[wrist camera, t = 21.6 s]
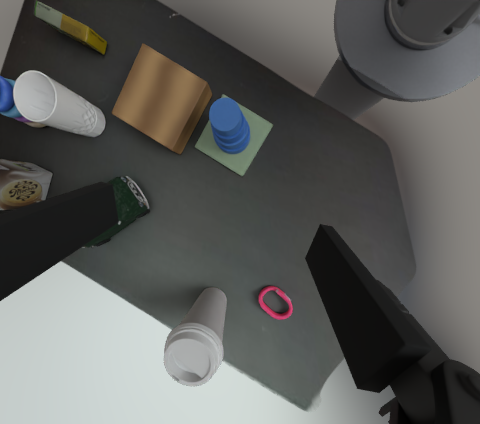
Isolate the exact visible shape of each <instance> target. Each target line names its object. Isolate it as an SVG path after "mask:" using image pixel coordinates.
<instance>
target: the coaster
mask: <svg viewBox="0 0 480 424" xmlns="http://www.w3.org/2000/svg"><path fill="white" fill-rule="evenodd" d="M221 98H229V97H227V96H225V95H224V94H223V95H222V97H221ZM236 103H237V102H236ZM237 104H238V103H237ZM238 106H239V108H240V110H241V111H242V113H243V115H244V117H245V118H246V120H247V122H248V124H249V127H250V141H249V144H248V146H247V147H246V148H245V149H244V150H243V151H242V152H240V153H238V154H227V153H225V152H223V151H222V150H221V149H220V148H219V147H218V145H217V144H216V142H215V140H214V137H213V132H212V128H211V122H210V119H209V121H208V123H207V125H206V127H205V129H204V130H203V132H202V134H201V136H200V138H199V140H198V142H197V143H196V145H195V148H197V149H198V150H200V151H202V152H203V153H205V154H207V155H208V156H210V157H211V158H213V159H215V160H216V161H218V162H220V163H221V164H223V165H224V166H226V167H228V168H229V169H231V170H233V171H234V172H236V173H237V174H239V175H241V176H242V177H243V175H244V174H245V172H246V170H247V169H248V167H249V165H250V164H251V162H252V160H253V158H254V157H255V155H256V153H257V152H258V150H259V148H260V147H261V145H262V143H263V142H264V140H265V138H266V137H267V135H268V133H269V132H270V130H271V128H272V127H273V124H271V123H270V122H268V121H266V120H265V119H263V118H261V117H260V116H258V115H256V114H255V113H253V112H252V111H250V110H248V109H247V108H245V107H243V106H242V105H240V104H238Z"/></svg>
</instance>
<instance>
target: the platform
mask: <svg viewBox="0 0 480 424" xmlns="http://www.w3.org/2000/svg"><path fill="white" fill-rule="evenodd" d="M211 96H212V92H211V90H210V88H209V85H208V83H207V82H206V81H204V80H203V79H201V78H199V77H198V76H196V75H194V74H193V73H191V72H190V71H188V70H186V69H185V68H183V67H181V66H180V65H178V64H176V63H175V62H173V61H171V60H170V59H168V58H167V57H165V56H163V55H162V54H160V53H158V52H157V51H155V50H153V49H152V48H150V47H148V46H147V45H145V44H144V43H143V44H142V46H141V49H140V51H139V53H138V55H137V57H136V60H135V62H134V64H133V66H132V69H131V71H130V73H129V75H128V77H127V80H126V82H125V84H124V86H123V89H122V91H121V93H120V95H119V97H118V100H117V102H116V104H115V106H114V109H113V111H112V114H113V115H115V116H117V117H118V118H120V119H122V120H123V121H125V122H126V123H128V124H130V125H131V126H133V127H135V128H136V129H138V130H139V131H141V132H143V133H144V134H146V135H148V136H149V137H151V138H152V139H154V140H156V141H157V142H159V143H161V144H162V145H164V146H165V147H167V148H169V149H170V150H172V151H174V152H176V153H178V154H180V155H181V153H182V151H183V149H184V147H185V146H186V144H187V142H188V140H189V138H190V136H191V134H192V132H193V130H194V129H195V127H196V125H197V123H198V121H199V119H200V117H201V115H202V113H203V112H204V110H205V108H206V106H207V104H208V102H209V100H210V98H211Z"/></svg>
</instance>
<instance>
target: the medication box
mask: <svg viewBox="0 0 480 424" xmlns="http://www.w3.org/2000/svg"><path fill="white" fill-rule="evenodd" d="M34 15H35V16H36V17H38V18H39V19H40V20H42V21H43V22H45V23H46V24H48V25H49V26H51V27H52V28H54V29H55V30H57V31H59V32H61V33H63V34H65V35H66V36H68V37H70V38H72V39H74V40H76V41H78V42H80V43H82V44H84V45H86V46H88V47H90V48H91V49H93V50H95V51H97V52H99V53H101V54H103V55H105V50H106V45H107V42H106V41H105V40H104V39H103V38H101V37H100V36H99V35H98V34H97V33H95V32H94V31H93V30H92V29H91V28H89V27H88V26H86V25H84V24H82V23H80V22H78V21H76V20H74V19H72V18H70V17H68V16H66V15H64V14H62V13H60V12H58V11H56V10H55V9H53V8H51V7H49V6H47V5H45V4H43V3H41V2H39V1H37V0H35V4H34Z"/></svg>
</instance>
